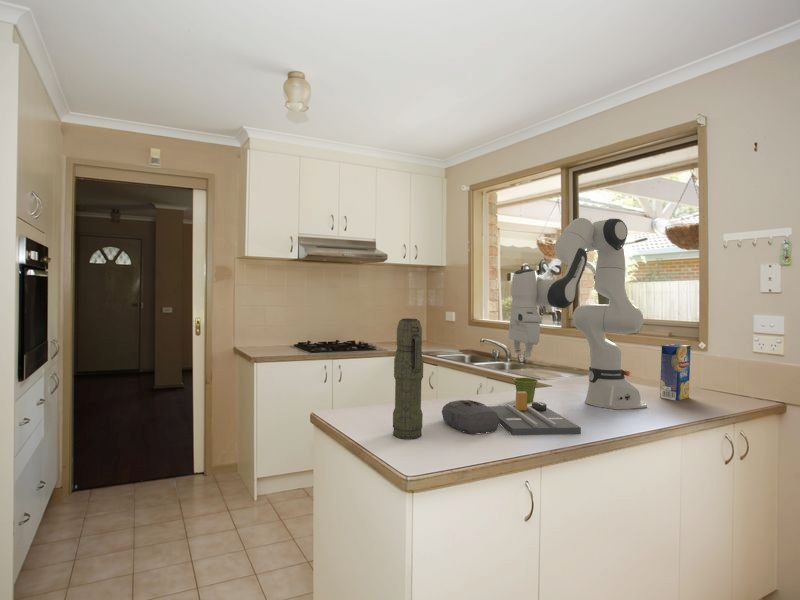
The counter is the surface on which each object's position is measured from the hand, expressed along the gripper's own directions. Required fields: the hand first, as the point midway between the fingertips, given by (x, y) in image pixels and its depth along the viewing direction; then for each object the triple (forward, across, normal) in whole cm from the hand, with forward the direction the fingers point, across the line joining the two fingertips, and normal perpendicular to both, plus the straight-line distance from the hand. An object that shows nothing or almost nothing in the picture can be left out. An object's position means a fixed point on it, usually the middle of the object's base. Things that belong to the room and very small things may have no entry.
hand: (522, 354), depth 175 cm
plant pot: (+22, -22, +10) cm, 33 cm away
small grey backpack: (+22, +11, -22) cm, 33 cm away
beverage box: (+21, -26, +77) cm, 84 cm away
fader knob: (+19, 0, 0) cm, 19 cm away
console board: (+22, +8, 0) cm, 23 cm away
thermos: (+22, +20, -43) cm, 52 cm away
